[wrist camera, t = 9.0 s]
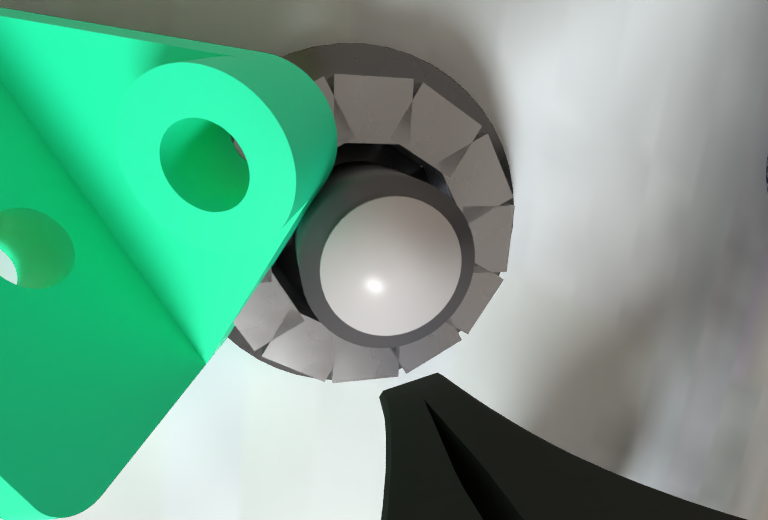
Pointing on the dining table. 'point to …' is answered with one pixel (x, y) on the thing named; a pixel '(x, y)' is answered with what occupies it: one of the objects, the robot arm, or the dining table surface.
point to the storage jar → (767, 174)
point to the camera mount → (131, 233)
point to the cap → (383, 255)
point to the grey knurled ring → (411, 157)
